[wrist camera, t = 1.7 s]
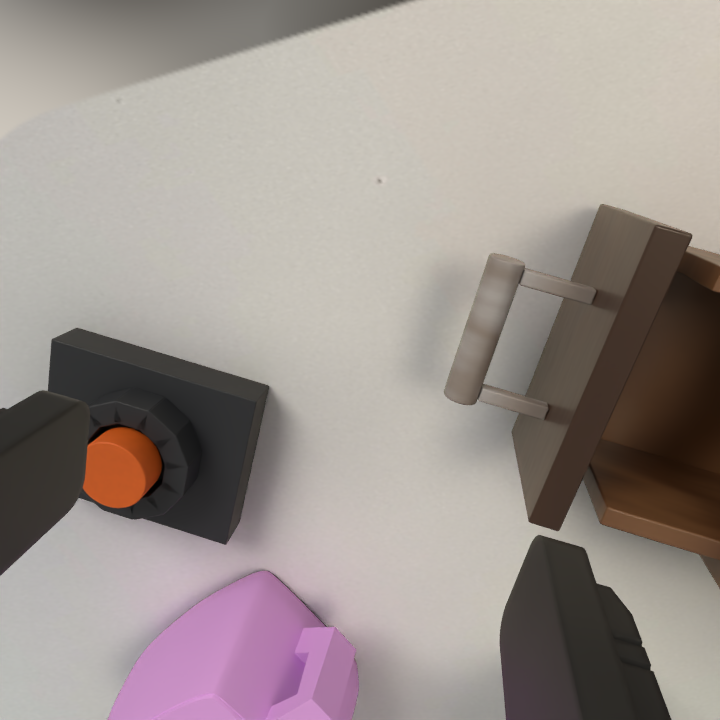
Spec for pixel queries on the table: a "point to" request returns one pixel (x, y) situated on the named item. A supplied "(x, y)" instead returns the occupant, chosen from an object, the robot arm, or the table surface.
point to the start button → (121, 467)
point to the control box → (168, 426)
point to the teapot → (243, 662)
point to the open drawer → (614, 382)
